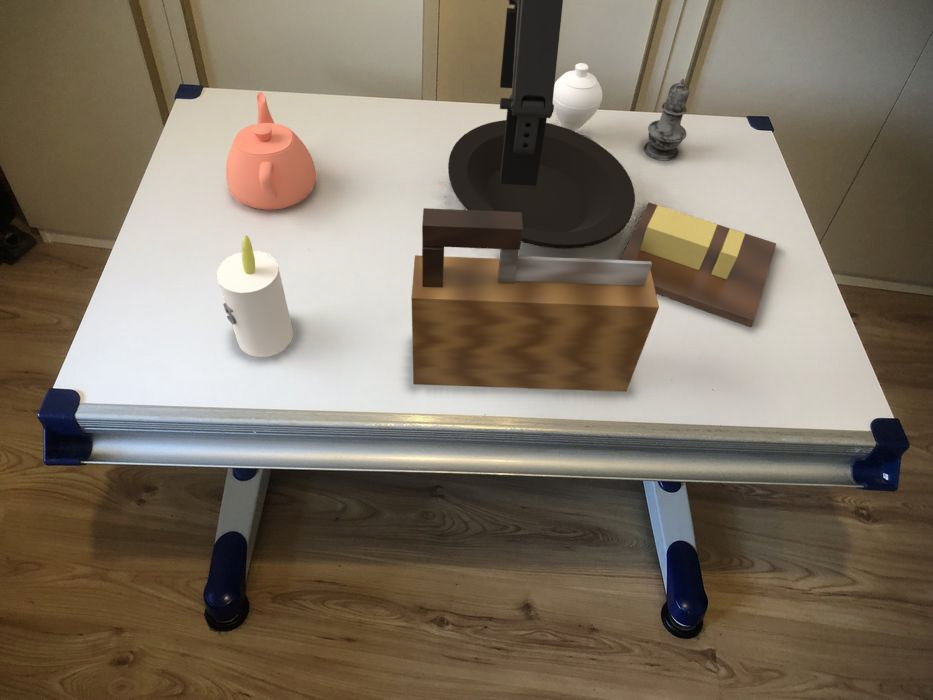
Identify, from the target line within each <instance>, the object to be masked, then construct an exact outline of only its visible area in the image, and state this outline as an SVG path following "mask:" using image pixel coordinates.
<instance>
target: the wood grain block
mask: <svg viewBox="0 0 933 700" xmlns="http://www.w3.org/2000/svg"><path fill="white" fill-rule="evenodd" d="M499 260H500V258H491V257H469V256H468V257H466V256H465V257H464V256H444V272H443V287H423V286H422V255H419V254H417V255H414V261H413V273H412V274H413V275H412V286H411V298H410V299H411V340H412V341H411V343H412V344H411V345H412V384H413V385H415V386H416V385H419V386H422V385H423V386H446V387H447V386H449V387H475V388H476V387H479V388H503V389H505V388H507V389H535V390H536V389H537V390H538V389H539V390H566V391H568V390H569V391H593V392H594V391H595V392H624V393H625V392H626V393H627V391H628V388H629V386H630V384H631V381H632V379H633V376H634V373H635V370H636V368H637V365H638V363H639V360H640V357H641V355H642V353H643V350H644V347H645V344H646V342H647V340H648V337H649V335H650V332H651V329H652V326H653V324H654V322H655V319H656V317H657V314H658V311H659V308H660V305H659V301H658V296H657V293H656V292H655V287H654V283H653V279H652V275H651V270H650V271H649V274H648V277H647V280H646V283H645V285H644V286H632V285H606V284H580V283H555V282H529V281H515V282H514V284H508V283H498V269H499Z"/></svg>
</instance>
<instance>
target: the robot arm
mask: <svg viewBox="0 0 933 700" xmlns="http://www.w3.org/2000/svg"><path fill="white" fill-rule="evenodd" d="M507 1H508V5H509V6H513V7H507V8H506V13H505V14H506V15H505V16H506V17H505V24H504V25H505V26H504V34H503V35H504V36H503V37H504V38H503V48H502V49H503V50H502V61H501V69H500V82H499V88H500V89H502V88H503V89H511V94H510V96H509V97H508V98H507V97H501V98H500V100H499V110H506V119H505V120H506V127H505V137H504V147H503V156H502V166H501V176H500V184H512V185H529V186H536V184H537V178H538V171H539V165H540V158H541V152H542V145H543V139H544V133H545V126H546V123H547V119H551V118H552V116H553V113H554V112H555V111H554V104H553V94H554V84H555V82H556V74H557V63H558V54H559V43H560V34H561V23H562V15H563V6H564V5H563V3H564V0H507Z"/></svg>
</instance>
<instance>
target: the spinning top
mask: <svg viewBox="0 0 933 700" xmlns="http://www.w3.org/2000/svg"><path fill="white" fill-rule="evenodd" d="M589 68H590V67H589V65H588V64H586V63H585V62H579V63H576V64H575V66H574V69H573V70H568V71H566V72H564V73H563V74H562V75H560V77H558V78H557V80H555V84H554V94H553V104H554V111H553V112H554V113H555V116H556V118H557V120H558V121H559V123H560V126H561V127H564V128H567V129H570V130H572V131H575V132H577V131H578V130H579V129H580V128H582V127H583V126H584V125H585V124H586V123H588V121H590V120H591V118H592V117H594V115H595V114H596V113H597V111H598V110H599V109H600V106H601V105H602V101H603V90H602V86H601V85H600V83H599V81H598V79H597V77H596V76H595V75H594V74H593V73H590V72H589Z"/></svg>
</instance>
